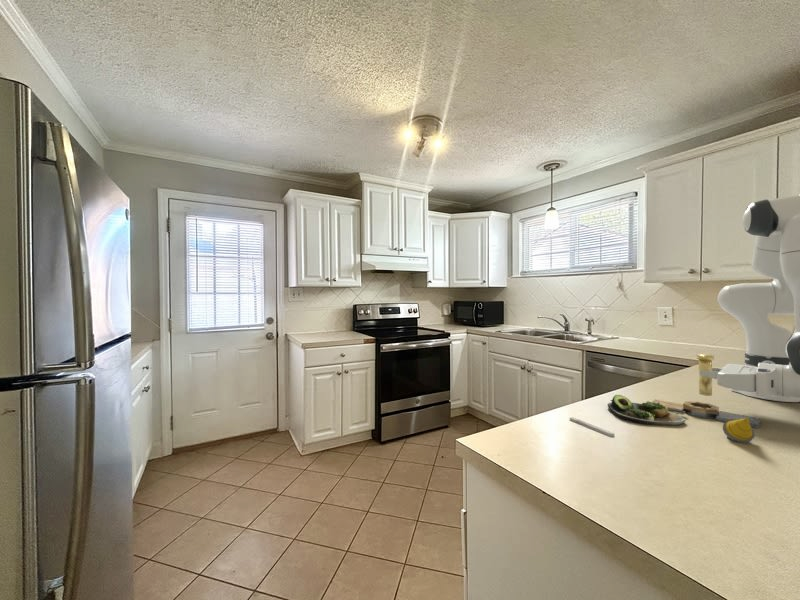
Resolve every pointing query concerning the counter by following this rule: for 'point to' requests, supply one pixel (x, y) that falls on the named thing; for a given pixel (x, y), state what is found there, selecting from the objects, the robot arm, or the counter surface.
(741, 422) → the lemon wedge on dish
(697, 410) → the hinge
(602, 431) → the white rod
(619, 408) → the salad plate
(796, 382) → the robot arm
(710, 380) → the hinge pin
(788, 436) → the counter surface
